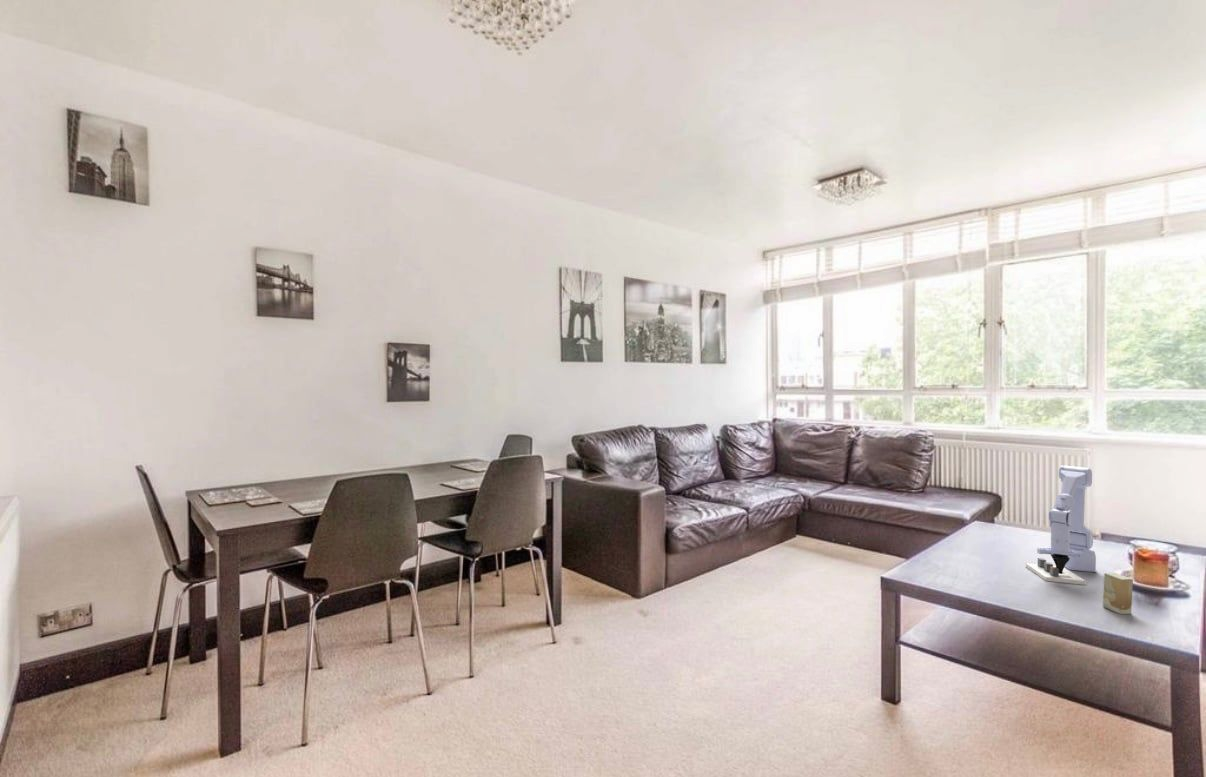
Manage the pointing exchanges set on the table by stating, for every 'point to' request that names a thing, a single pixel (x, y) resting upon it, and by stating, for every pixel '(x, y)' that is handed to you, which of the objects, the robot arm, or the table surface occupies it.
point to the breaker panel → (1044, 572)
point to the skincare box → (1117, 593)
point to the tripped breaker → (1054, 571)
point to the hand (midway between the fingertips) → (1059, 573)
